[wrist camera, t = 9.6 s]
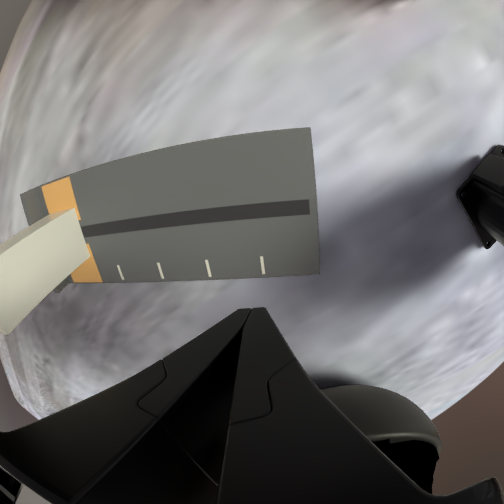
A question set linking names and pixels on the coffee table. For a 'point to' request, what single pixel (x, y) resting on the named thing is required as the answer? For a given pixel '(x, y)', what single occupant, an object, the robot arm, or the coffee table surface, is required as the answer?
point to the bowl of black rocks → (392, 428)
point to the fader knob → (38, 264)
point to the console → (194, 211)
